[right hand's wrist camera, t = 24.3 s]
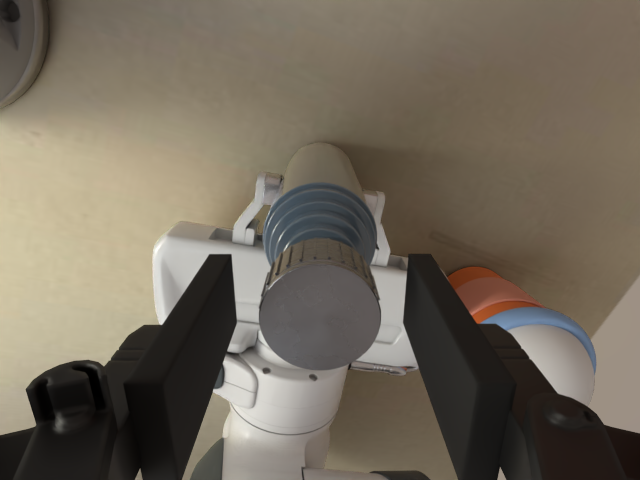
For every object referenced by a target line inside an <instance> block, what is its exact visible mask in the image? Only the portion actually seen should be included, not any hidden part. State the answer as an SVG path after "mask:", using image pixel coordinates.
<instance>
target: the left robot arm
mask: <svg viewBox="0 0 640 480" xmlns="http://www.w3.org/2000/svg"><path fill="white" fill-rule="evenodd" d="M281 181H282V175H279V174H274V173H269V172H263V171H260V173H259V174H258V178H257V182H256V191H255V198H254V199H253V200H252V202H251V203H250V204H249V205H248V207H247V208H246V209H245V210H244V212H243V213H242V214H241V215H240V217H239V218H238V220H237V222H236V223H235V225H234V229H229V228H223V227H216V226H210V225H204V224H198V223H192V222H186V221H181V222H178V223H176V224H175V225H174V226H172V227H171V228H170V229H168V230H167V231H166V232H165V233H164V234H163V235H162V236H161V237H160V238H159V239H158V241H157V242H156V244H155V246H154V250H153V263H152V270H153V290H154V300H155V308H156V314H157V318H158V321H159V323H160V325H162V324H163V323H164V321H165V320H166V318H167V317H168V315H169V314H170V312H171V311H172V309H173V308H174V306H175V305H176V303H177V302H178V300H179V299H180V297H181V296H182V294H183V293H184V291H185V290H186V288H187V287H188V285H189V284H190V282H191V281H192V279H193V278H194V276H195V275H196V273H197V272H198V270H199V269H200V267H201V266H202V264H203V263H204V261H205V260H206V258H207V257H208V255H209V254H232V266H233V278H234V290H235V303H236V315H237V325H236V327H235V330H234V333H233V336H232V339H231V341H230V344H229V347H228V350H227V353H226V356H225V358H224V361H223V364H222V367H221V370H220V373H219V375H218V378H217V381H216V384H215V387H214V390H213V392H214V393H216V394H217V395H219V396H221V397H223V398H225V399H226V400H228V401H229V403H230V408H231V411H230V413H229V415H228V416H227V419H226V422H225V425H224V429H223V436H222V438H221V439H220V440H219V441H217V442H216V443H215V444H214V445H213V446H212V447H211V448H210V449H209V451H208V452H207V453H206V454H205V455H204V456H203V458H202V459H201V460H200V461H199V462H198V464H197V465H196V467H195V469H194V471H193V473H192V476H191V478H190V480H430V479H429V478H428V477H427V476H426V475H425V474H423V473H421V472H419V471H372V472H369V473H364V472H353V471H341V470H330V469H324V466H325V462H326V458H327V454H328V451H329V445H330V431H329V426H330V425H331V423H332V422H333V420H334V418H335V416H336V414H337V411H338V408H339V404H340V400H341V396H342V391H343V387H344V383H345V379H346V374H347V370H349V369H352V370H359V371H366V372H383V373H388V374H389V375H394V376H404V375H406V373H407V372H412V371H415V370H418V369H419V367H418V364H417V361H416V358H415V356H414V353H413V350H412V347H411V344H410V342H409V339H408V336H407V333H406V330H405V327H404V325H403V315H404V303H405V290H406V278H407V266H408V257H402V256H396V255H390V252H391V251H390V248H389V245H388V242H387V239H386V235H385V232H384V229H383V226H382V223H381V217H382V213H383V208H384V204H385V195H384V193H383V192H380V191H375V190H368V189H362V191H363V193H364V195H365V198H366V200H367V203H368V205H369V207H370V210H371V212H372V215H373V217H374V219H375V223H376V227H377V244H376V249H375V254H374V257H373V260H372V262H371V265H370V269H371V272H372V276H374V280H375V283H376V287H377V290H378V294H379V297H380V300H379V304H380V308H381V324H380V329H379V333H378V335H377V337H376V339H375V341H374V343H373V344H372V346H371V347H370V348H369V349H368V351H367V352H366V353H365V354H363V355H362V356H361V357H360V358H358V359H357V360H356V361H354V362H352V363H350V364H348V365H346V366H343V367H340V368H336V369H331V370H309V369H304V368H300V367H297V366H294V365H292V364H290V363H288V362H286V361H284V360H283V359H282V358H280V357H279V356H278V355H277V354H275V353H274V352H273V351H272V349H271V348H270V347H269V346H268V344H267V343H266V341H265V339H264V337H263V335H262V332H261V329H260V325H259V304H260V301H261V293H262V290H263V286H264V283H265V279H266V276H267V273H268V272H270V268H271V266H270V265H269V263H268V260H267V258H266V254H265V250H264V245H263V234H260V233H258V228H259V220H258V219H253V218H254V217H255V215H256V214H257V213H258V212H259V210H260V209H261V208H262V207H263V205H264V204H265V205H272V202H273V200H274V197H275V195H276V193H277V190H278V188H279V185H280V183H281ZM440 269H441V268H440ZM442 272H443V271H442ZM443 273H444V272H443ZM444 275H445V274H444ZM445 276H446V275H445ZM446 278H447V277H446ZM447 279H448V278H447ZM448 281H449V280H448Z"/></svg>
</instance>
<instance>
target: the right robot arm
mask: <svg viewBox="0 0 640 480" xmlns="http://www.w3.org/2000/svg"><path fill="white" fill-rule="evenodd" d="M48 36H49V17H48V8H47V2H46V0H0V109H1V108H3V107H5V106H7V105H9V104H10V103H12V102H14V101H15V100H17V99H18V98H19V97H20V96H21V95H23V94H24V93H25V92H26V90H27V89H28V88H29V87H30V86H31V84H32V83H33V82H34V80H35V79H36V77H37V75H38V73H39V71H40V69H41V67H42V64H43V61H44V58H45V55H46V50H47V45H48ZM236 325H237V315H236V303H235V290H234V278H233V266H232V254H209V255H208V257H207V258H206V260H205V261H204V263H203V264H202V266H201V267H200V269H199V270H198V272H197V273H196V275H195V276H194V278H193V279H192V281H191V282H190V284H189V285H188V287H187V288H186V290H185V291H184V293H183V294H182V296H181V297H180V299H179V300H178V302H177V303H176V305H175V306H174V308H173V309H172V311H171V312H170V314H169V315H168V317H167V318H166V320H165V321H164V323H163V324H162V325H143V326H142V327H140V328H139V329H137V330H136V331H135V332H133V333H132V334H130V335H129V336H128V337H127V338H126V340H125V341H124V342H123V343H122V345H121V346H120V347H119V350H117V351H116V352H115V354H114V355H113V356H112V358H111V361H108V363H107V364H106V365H105V367H104V366H102V365H101V364H100V363H99V362H95V361H90V360H81V361H72V362H69V363H65V364H61V365H58V366H56V367H54V368H52V369H50V370H47V371H45V372H44V373H42V374H41V375H40V376H38V377H37V378H35V379H34V380H33V381H32V382H31V383H30V385H29V386H28V387H27V388H26V392H27V395H28V399H29V402H30V405H31V408H32V411H33V415H34V418H35V421H36V424H37V425H36V427H33V428H30V429H26V430H22V431H17V432H13V433H8V434H4V435H0V480H135V478H136V475H137V473H138V471H139V469H140V468H141V473H142V478H143V480H182V477H183V474H184V472H185V469H186V466H187V463H188V460H189V457H190V455H191V452H192V449H193V446H194V443H195V440H196V438H197V435H198V432H199V429H200V426H201V423H202V421H203V418H204V415H205V412H206V409H207V407H208V404H209V401H210V398H211V395H212V392H213V390H214V387H215V384H216V381H217V378H218V375H219V373H220V370H221V367H222V364H223V361H224V358H225V356H226V353H227V350H228V347H229V344H230V341H231V339H232V336H233V333H234V330H235V327H236ZM403 325H404V327H405V330H406V333H407V336H408V339H409V342H410V344H411V347H412V350H413V353H414V356H415V358H416V361H417V364H418V367H419V370H420V373H421V375H422V378H423V381H424V384H425V387H426V390H427V392H428V395H429V398H430V401H431V404H432V407H433V409H434V412H435V415H436V418H437V421H438V423H439V426H440V429H441V432H442V435H443V438H444V440H445V443H446V446H447V449H448V452H449V455H450V457H451V460H452V463H453V466H454V469H455V472H456V474H457V477H458V480H497V478H498V473H499V468H500V467H501V469H502V471H503V473H504V475H505V478H506V480H640V433H635V432H631V431H626V430H622V429H618V428H613V427H610V426H606V425H604V424H603V423H602V421H601V420H600V418H599V417H598V415H597V414H596V413H595V412H593V411H592V410H591V409H590V408H588V407H587V406H586V405H585V404H583V403H581V402H579V401H577V400H575V399H573V398H571V397H567V396H564V395H561V394H558V393H557V392H556V390H555V389H554V388H553V387H552V385H551V384H550V383H549V381H548V380H547V379H546V378H545V376H544V375H543V374H542V372H541V371H540V370H539V369H538V367H537V366H536V365H535V363H534V362H533V361H532V360H531V359H529V356H528V354H527V353H526V352H525V351H524V349H521V346H520V344H519V343H518V342H517V340H516V339H515V338H514V337H513V335H512V334H511V333H509V332H508V331H506V330H505V329H503V328H502V327H500V326H499V325H497V324H477V323H476V321H475V320H474V318H473V317H472V315H471V314H470V312H469V311H468V309H467V308H466V306H465V305H464V303H463V302H462V300H461V299H460V297H459V296H458V294H457V293H456V291H455V290H454V288H453V287H452V285H451V284H450V282H449V281H448V279H447V278H446V276H445V275H444V273H443V272H442V270H441V269H440V267H439V266H438V264H437V263H436V261H435V260H434V258H433V257H432V255H431V254H408V266H407V278H406V290H405V303H404V315H403Z"/></svg>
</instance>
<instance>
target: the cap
mask: <svg viewBox="0 0 640 480" xmlns="http://www.w3.org/2000/svg"><path fill="white" fill-rule="evenodd" d="M379 300H380V297H379V294H378V290H377V287H376V283H375V280H374V276H372V272H371V269H370V266H369V265H367V263H366V262H365V260H364V258H363V256H362V255H360V254H359V253H358V252H356V251H355V250H354V248H353V247H350V246H348V245H346V244H344V243H343V242H341V241H340V242H339V241H336V240H332V239H330V238H327V239H325V238H314V239H308V240H301V242H298V243H296V244H294V245H290V246H289V248H287V249H286V250H285V251H284V252H281V253H280V254H279V256H278V258H277V259H276V260H275V262H272V265H271V268H270V272H268V273H267V276H266V279H265V283H264V286H263V290H262V293H261V301H260V304H259V325H260V329H261V332H262V335H263V337H264V339H265V341H266V343H267V344H268V346H269V347H270V348H271V349H272V351H273V352H274V353H275V354H277V355H278V356H279V357H280V358H282V359H283V360H284V361H286V362H288V363H290V364H292V365H294V366H297V367H300V368H304V369H309V370H331V369H336V368H340V367H343V366H346V365H348V364H350V363H352V362H354V361H356V360H357V359H358V358H360V357H361V356H362V355H363V354H365V353H366V352H367V351H368V349H369V348H370V347H371V346H372V344H373V343H374V341H375V339H376V337H377V335H378V333H379V329H380V324H381V308H380V304H379Z"/></svg>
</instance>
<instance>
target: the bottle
mask: <svg viewBox="0 0 640 480" xmlns="http://www.w3.org/2000/svg"><path fill="white" fill-rule="evenodd" d="M314 238H325V239H327V238H330V239H332V240H336V241H339V242H340V241H341V242H343V243H344V244H346V245H348V246H350V247H353V248H354V250H355V251H356V252H358V253H359V254H360V255H362V256H363V258H364V260H365V262H366V263H367V265H369V266H370V265H371V262H372V260H373V257H374V254H375V249H376V244H377V227H376V223H375V219H374V217H373V215H372V212H371V210H370V207H369V205H368V203H367V200H366V198H365V195H364V193H363V191H362V188H361V186H360V183H359V181H358V179H357V176H356V174H355V171H354V169H353V167H352V164H351V162H350V160H349V158H348V157H347V155H346V154H345V153H344V152H343V151H342V150H341V149H339V148H338V147H336V146H334V145H332V144H329V143H323V142H317V143H311V144H308V145H306V146H304V147H302V148H301V149H299V150H298V151H297V152H296V153H295V154H294V155H293V157H292V158H291V160H290V162H289V164H288V166H287V169H286V171H285V173H284V176H283V178H282V181H281V183H280V185H279V188H278V190H277V193H276V195H275V197H274V200H273V202H272V205H271V207H270V209H269V212H268V214H267V217H266V220H265V222H264V227H263V245H264V250H265V254H266V258H267V260H268V263H269V265H270V266H271V265H272V262H275V260H276V259H277V258H278V256H279V254H280V253H281V252H284V251H285V250H286V249H287V248H289V246H290V245H294V244H296V243H298V242H301V240H308V239H314Z"/></svg>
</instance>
